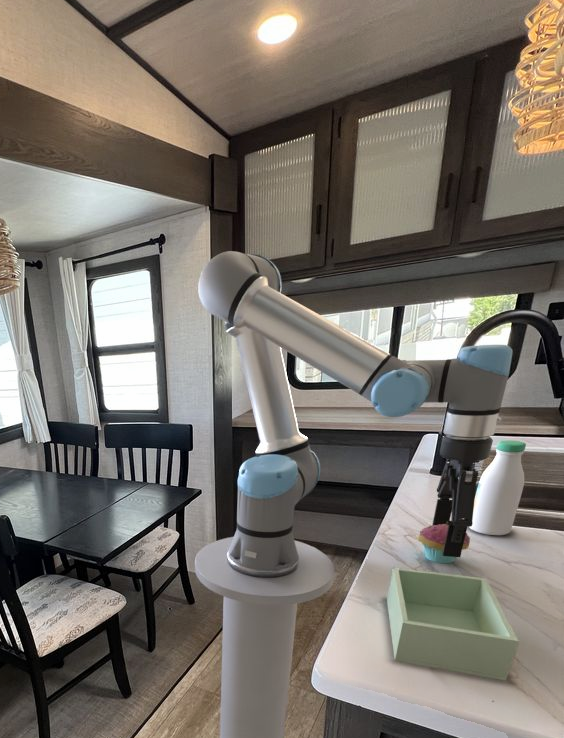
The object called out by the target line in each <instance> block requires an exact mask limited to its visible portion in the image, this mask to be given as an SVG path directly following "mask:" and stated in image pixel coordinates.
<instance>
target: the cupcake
mask: <svg viewBox="0 0 564 738" xmlns="http://www.w3.org/2000/svg"><path fill="white" fill-rule="evenodd" d="M447 530H448V525H446V524H442V525H440V524H439V525H434V526H432V525H429V526H426V527H423V528H422V529H421V530H420V531H419V534H418V536H417V540H418V542H419V543H421V544H422V545H423V550H424V555H425V558H426V559H427V560H428V561H431V562H433V563H436V564H437V563H438V564H451V563H453V562H454V561H455V559H456V558H457V557H449V556H443V555H442V553H443V549H444V544H445V539H446V535H447ZM470 540H471V537H470V536H469V535H468V532H466V535H465V539H464V543H463V548H462V551H463V550H466V549H468V548H469V546H470V544H471V543H470V542H471V541H470Z"/></svg>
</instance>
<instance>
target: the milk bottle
mask: <svg viewBox="0 0 564 738" xmlns="http://www.w3.org/2000/svg"><path fill="white" fill-rule="evenodd" d="M526 446H527V444H526V442H524V441H519V440H500V441H498V442H497V445H496V450H495V452H496V455H495V457H494V458H493V460H492V461H491V463H490V464H489V465H488V466H487V467H486V468H485V470H484V471H483V472H482V474H481V476H480V479H479V482H478V485H477V487H476V491H475V500H474V510H473V520H472V522H473V524H472V526H471V527H469V529H470V530H472V531H474V532H476V533H479V534H483V535H488V536H489V535H491V536H504V535H508V534H509V533H511V531H512V528H513V525H514V522H515V519H516V515H517V511H518V508H519V504H520V501H521V497H522V494H523V490H524V486H525V471H524V469H523V465H522V455H524V453H525V450H526Z"/></svg>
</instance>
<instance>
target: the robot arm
mask: <svg viewBox="0 0 564 738" xmlns="http://www.w3.org/2000/svg"><path fill="white" fill-rule="evenodd" d="M282 282H283V281H282V276H281V273H280V271H279V269H278V267H277V265H275V263H274V262H273V261H271V260H270V259H268V258H267V257H266V256H263V255H261V254H257V253H244V252H240V251H235V250H234V251H233V250H229V251H224V252H221V253H218V254H216V255H215V256H213V257H212V258H211V259H210V260H209V261H208V262H207V263H206V264H205V266H204V267H203V269H202V271H201V272H200V276H199V279H198V286H197V292H198V298H199V300H200V303H201V304H202V306H203V308H204V309H205V310H206V311H207V312H208V313H209V314H210V315H212V316H214V317H216V318H217V319H220V320H221V321H223V322H224V327H225V331H226V333H227V334H228V335H229V336H232V337H233V338H235V341H236V345H237V350H238V353H239V359H240V362H241V363H240V364H241V366H242V370H243V371H242V372H243V375H244V379H245V383H246V388H247V392H248V396H249V400H250V404H251V409H252V413H253V417H254V421H255V425H256V431H257V435H258V439H259V445H258V446H257V448H256V450H255V456H253V457H251V458H248V459H247V460H245V461H243V463H242V464H241V465H240V467H239V470H238V471H239V472H238V477H237V506H236V507H237V509H236V531H235V532H234V535H233V537H234V538H233V540H232V543H231V545H230V548H229V550H228V557H227V561H228V564H229V566H230V567H231V568H232V569H234V570H235V571H237V572H239V573H242V574H244V575H248V576H252V577H258V578H277V577H282V576H286V575H289V574H291V573H293V572H294V571H295V570H296V569H297V567H298V560H299V556H298V553H297V549H296V545H295V542H294V540H295V537H294V534H293V524H294V517H295V507H296V505H297V504H298V503H299V502H300V501H301V500H302V499H303V498H304V497H306V496H307V495H308V494H310V493H311V492H312V491H313V490H314V488H315V487H316V485H317V483H318V481H319V480H320V479H319V478H320V475H321V462H320V459H319V457H318V456H317V454H316V453H315V452H314V451H312V450H311V446H310V442H309V438H308V437H307V436H305V435H304V434H302V433H301V432H300V430H299V426H298V425H299V424H298V421H297V417H296V412H295V407H294V403H293V398H292V393H291V388H290V383H289V380H288V375H287V371H286V365H285V361H284V357H283V352H282V350H284V351H286V352H287V353H288V354H291V355H292V356H294V357H296V358H297V359H299V360H301V361H302V362H304V363H306V364H308V365H309V366H311V367H313V368H314V369H316V370H318V371H319V372H321V373H322V374H325V375H326V376H328V377H329V378H331V379H333V380H335V381H336V382H338V383H340V384H341V385H342V386H345V387H347V389H350V390H352V391H354V393H356V394H358V395H359V396H361V397H363V398H364V399H366V400H368V401H369V402H371V403H372V407H373V408H374V409H375V411H376V412H378V413H379V414H380V415H382V416H385V417H388V418H400V417H404V416H407V415H409V414H411V413H413V412H415V411H416V410H417V409H419V408H420V407H422V406H423V405H424V404H425V403H439V404H440V403H441V404H443V403H448V408H447V411H446V415H445V422H444V427H443V432H442V433H443V434H444V436H443V437H441V438H442V439H441V445H440V449H439V455H440V457H441V458H443V459H446V461H445V464H444V467H443V469H442V473H441V476H440V479H439V482H438V485H437V488H436V493H437V495H436V496H437V500H436V504H435V509H434V514H433V520H432V525H431V526H434V525H439V524H440V525H442V524H446V525H448V530H447V535H446V539H445V544H444V549H443V553H442V555H443V556H449V557H456V558H461V556H462V552H463V550H462V548H463V543H464V539H465V535H466V533H467V529H468V527H469V528H470V527H471V526H472V524H473V522H472V520H473V510H474V500H475V496H476V491H477V482H478V478H479V477H478V476H479V474H480V473H479V470H476V469H475V468H474V464H475V463H476V462H478V461H480V462H481V461H485V460H487V459H488V458H489V457H490V454H491V450H492V447H493V446H492V445H493V443H494V439H493V438H492V436H494V435H495V431H496V427H497V424H499V423H501V422H502V417H500V416H499V415H500V411H501V406H502V403H503V400H504V395H505V392H506V387H507V383H508V379H509V375H510V370H511V364H512V360H513V359H512V358H513V349H512V347H511V346H509V345H508V344H481V345H468V346H464V347H461V349H460V350H459V352H458V354H457V356H456V358H447V359H422V360H421V359H418V360H406V359H400V358H398V357H396V356H395V355H392V354H390V353H389V352H387V351H385V350H383V349H382V348H380V347H378V346H377V345H374V344H373V343H371V342H369V341H368V340H365V339H364V338H362V337H360V336H358V335H357V334H355V333H353V332H351V331H349V330H347V329H346V328H344V327H343V326H340V325H338V324H337V323H335V322H333V321H332V320H329V319H328V318H326V317H324V316H323V315H320V314H319V313H318V312H315V311H314V310H312V309H310V308H308V307H306V306H304V305H303V304H300V303H299V302H298V301H295V300H294V299H292V298H290V297H289V296H286V295H285V294H283V293H281V292H282V286H283V285H282Z"/></svg>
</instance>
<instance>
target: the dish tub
mask: <svg viewBox="0 0 564 738" xmlns="http://www.w3.org/2000/svg"><path fill="white" fill-rule="evenodd" d="M390 575H391V576H390V581H389V587H388V591H387V596H386V604H387V605H386V606H387V611H388V613H387V614H388V621H389V627H390V634H391V642H392V650H393V658H394V661H397V662H403V663H407V664H411V665H418V666H423V667H424V666H425V667H429V668H435V669H440V670H444V671H450V672H456V673H459V674H460V673H462V674H466V675H467V674H468V675H471V676H476V677H477V676H478V677H483V678H488V679H492V680H498V681H503V682H507V678H508V675H509V673H510V669H511V666H512V663H513V660H514V657H515V654H516V651H517V648H518V646H519V643H520V640H519V638H518V636H517V634H516V632H515V630H514V629H513V627H512V625H511V623H510V621H509V620H508V618H507V615H506V614H505V613H506V612H505V611H504V609H503V608H502V606H501V604H500V602H499V600H498V598H497V596H496V595H495V593H494V590H493V589H492V587H491V584H490V583H489V581H488V578H485V577H478V576H469V575H462V574H461V575H460V574H453V573H452V574H451V573H443V572H435V571H426V570H417V569H409V568H399V567H392V571H391V574H390Z"/></svg>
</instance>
